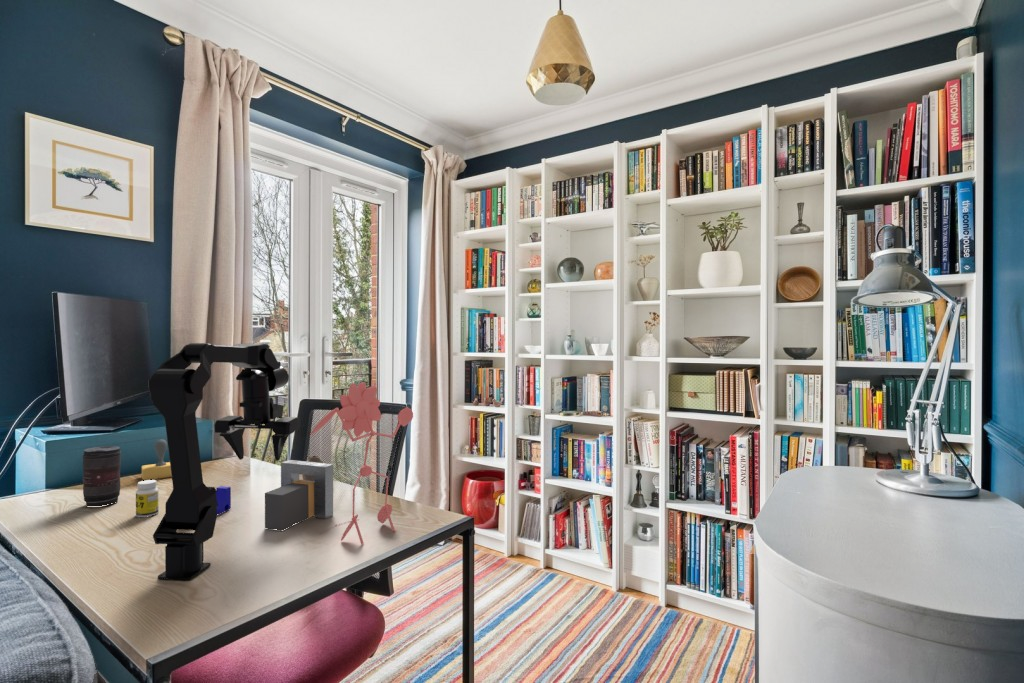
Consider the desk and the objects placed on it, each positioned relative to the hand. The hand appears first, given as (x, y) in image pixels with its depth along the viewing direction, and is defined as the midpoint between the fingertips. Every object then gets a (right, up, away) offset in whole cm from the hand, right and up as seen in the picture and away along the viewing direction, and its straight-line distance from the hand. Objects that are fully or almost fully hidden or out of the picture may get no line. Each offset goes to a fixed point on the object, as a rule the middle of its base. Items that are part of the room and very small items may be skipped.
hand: (259, 459), depth 126 cm
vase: (+1, -15, +33) cm, 36 cm away
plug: (+7, -16, +3) cm, 17 cm away
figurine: (+25, -16, -3) cm, 30 cm away
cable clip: (-17, -16, +6) cm, 24 cm away
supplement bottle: (-32, -16, +7) cm, 36 cm away
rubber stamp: (-52, -15, +42) cm, 68 cm away
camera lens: (-49, -15, +15) cm, 54 cm away
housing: (+8, -16, +8) cm, 19 cm away
